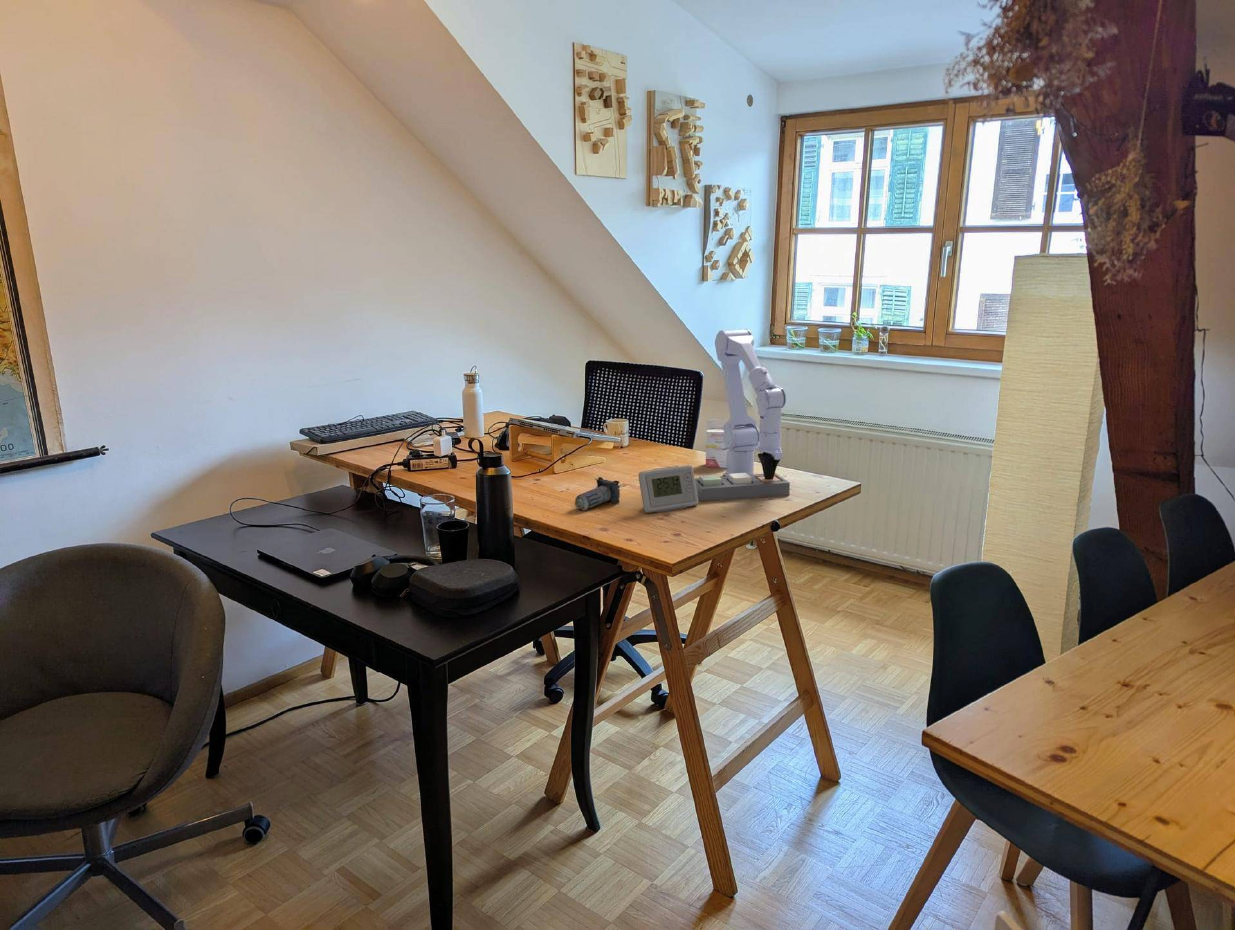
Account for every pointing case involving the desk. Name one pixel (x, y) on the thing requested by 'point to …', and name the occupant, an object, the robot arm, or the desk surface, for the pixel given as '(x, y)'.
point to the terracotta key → (768, 479)
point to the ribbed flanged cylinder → (599, 494)
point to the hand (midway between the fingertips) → (768, 478)
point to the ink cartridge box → (715, 445)
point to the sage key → (710, 480)
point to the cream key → (739, 478)
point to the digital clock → (668, 488)
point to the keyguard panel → (742, 489)
